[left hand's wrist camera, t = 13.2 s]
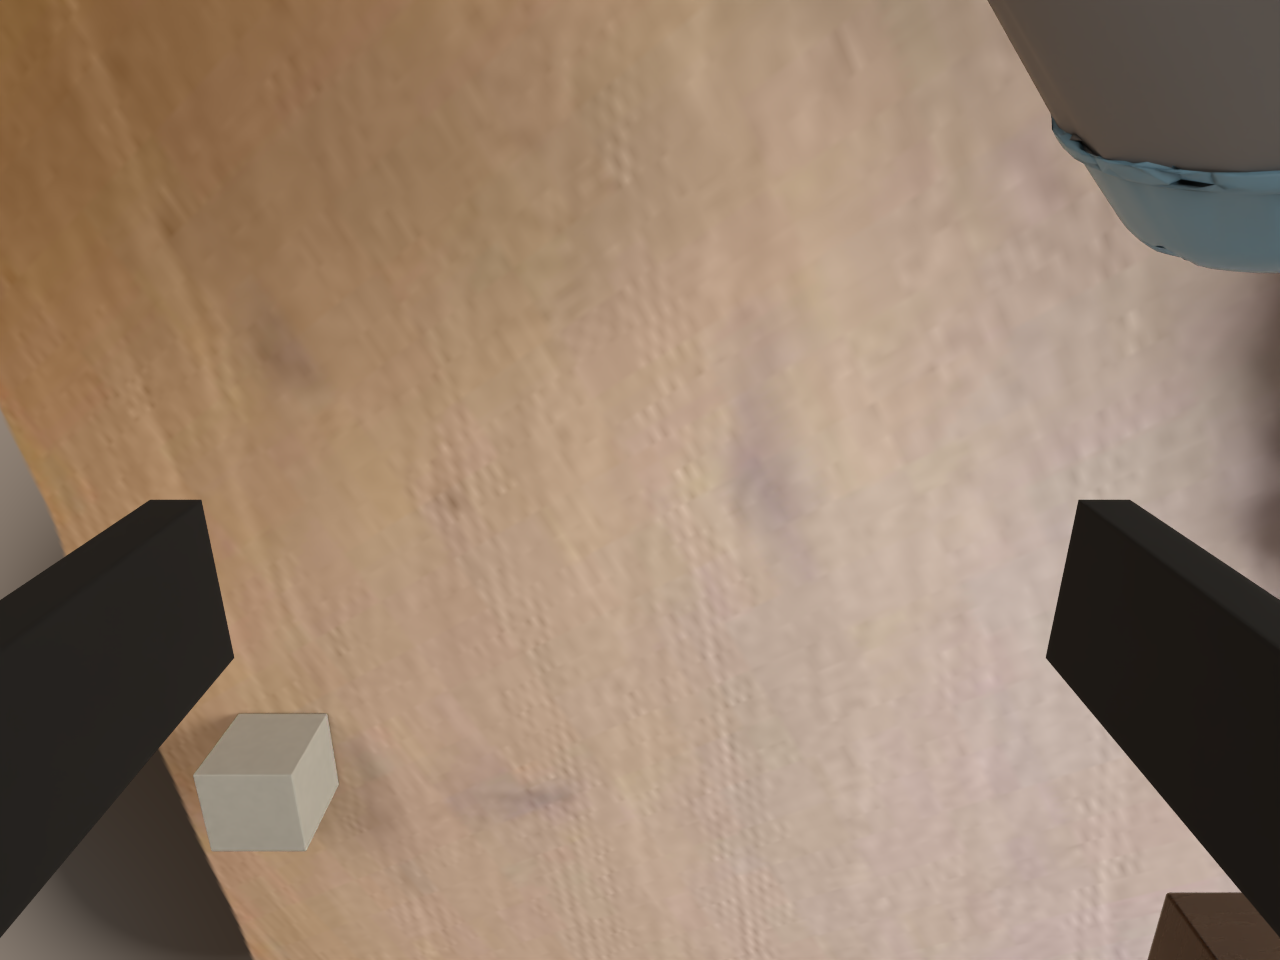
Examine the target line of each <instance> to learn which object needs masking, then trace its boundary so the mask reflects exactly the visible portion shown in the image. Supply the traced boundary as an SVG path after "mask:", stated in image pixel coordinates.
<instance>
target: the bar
mask: <svg viewBox="0 0 1280 960" xmlns="http://www.w3.org/2000/svg"><path fill="white" fill-rule="evenodd" d="M1148 960H1280V937H1279V936H1278V935H1277V934H1276V933H1275V931H1274V930H1273V929H1272V928H1271V927H1270V926H1269V924H1268V923H1267V922H1266V921H1265V920H1264V918H1263V917H1262V916H1261V915H1260V914H1259V912H1258V911H1257V910H1256V909H1255V908H1254V906H1253V905H1252V904H1251V903H1250V902H1249V900H1248V899H1247V898H1246V897H1245V896H1244V894H1243V893H1167V894H1166V897H1165V900H1164V904H1163V907H1162V911H1161V914H1160V918H1159V921H1158V925H1157V928H1156V932H1155V936H1154V939H1153V943H1152V946H1151V950H1150V953H1149V957H1148Z"/></svg>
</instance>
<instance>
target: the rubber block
mask: <svg viewBox="0 0 1280 960" xmlns="http://www.w3.org/2000/svg"><path fill="white" fill-rule="evenodd" d="M193 777H194V781H195V785H196V789H197V793H198V797H199V802H200V806H201V810H202V814H203V818H204V822H205V826H206V830H207V834H208V838H209V842H210V847H211V850H212V851H306V850H307V848H308V846H309V844H310V842H311V840H312V838H313V836H314V834H315V832H316V830H317V828H318V826H319V824H320V822H321V820H322V818H323V816H324V814H325V812H326V810H327V808H328V806H329V804H330V801H331V799H332V797H333V795H334V793H335V791H336V789H337V787H338V785H339V782H338V776H337V770H336V764H335V758H334V752H333V746H332V740H331V734H330V728H329V722H328V716H327V714H238V715H237V717H236V718H235V719H234V721H233V722H232V723H231V725H230V726H229V727H228V729H227V730H226V732H225V733H224V734H223V736H222V737H221V738H220V740H219V741H218V742H217V744H216V745H215V746H214V748H213V749H212V750H211V752H210V753H209V754H208V756H207V757H206V759H205V760H204V761H203V763H202V764H201V765H200V767H199V768H198V769H197V771H196V772H195V773H194V775H193Z"/></svg>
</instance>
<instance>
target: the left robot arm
mask: <svg viewBox="0 0 1280 960" xmlns="http://www.w3.org/2000/svg"><path fill="white" fill-rule="evenodd" d="M988 2H989V4H990V5H991V7H992V9H993V11H994V12H995V14H996V16H997V18H998V20H999V21H1000V23H1001V25H1002V27H1003V29H1004V30H1005V32H1006V34H1007V36H1008V38H1009V39H1010V41H1011V43H1012V45H1013V47H1014V48H1015V50H1016V52H1017V54H1018V56H1019V57H1020V59H1021V61H1022V63H1023V64H1024V66H1025V68H1026V70H1027V72H1028V73H1029V75H1030V77H1031V79H1032V81H1033V82H1034V84H1035V86H1036V88H1037V90H1038V91H1039V93H1040V95H1041V97H1042V99H1043V100H1044V102H1045V104H1046V106H1047V108H1048V109H1049V111H1050V113H1051V117H1052V130H1053V132H1054V134H1055V136H1056V138H1057V140H1058V141H1059V143H1060V144H1061V146H1062V147H1063V148H1064V149H1065V150H1066V151H1067V152H1068V153H1069V154H1070V155H1071V156H1072V157H1073V158H1075V159H1076V160H1078V161H1080V162H1082V163H1084V165H1085V166H1086V168H1087V169H1088V171H1089V172H1090V174H1091V175H1092V177H1093V178H1094V180H1095V182H1096V183H1097V185H1098V186H1099V188H1100V189H1101V191H1102V192H1103V194H1104V195H1105V197H1106V198H1107V200H1108V202H1109V203H1110V205H1111V206H1112V208H1113V209H1114V211H1115V212H1116V214H1117V215H1118V217H1119V218H1120V220H1121V221H1122V223H1123V224H1124V225H1125V226H1126V228H1127V229H1128V230H1129V231H1130V232H1131V233H1132V234H1133V235H1135V236H1136V237H1137V238H1138V239H1139V240H1140V241H1141V242H1143V243H1144V244H1146V245H1147V246H1149V247H1150V248H1152V249H1154V250H1156V251H1158V252H1162V253H1165V254H1169V255H1173V256H1177V257H1181V258H1183V259H1184V260H1189V261H1190V262H1192V263H1194V264H1196V265H1198V266H1202V267H1207V268H1211V269H1218V270H1226V271H1237V272H1252V273H1280V0H988ZM233 659H234V654H233V649H232V645H231V640H230V635H229V630H228V625H227V621H226V616H225V611H224V606H223V601H222V597H221V592H220V587H219V582H218V577H217V573H216V568H215V563H214V558H213V553H212V549H211V544H210V539H209V534H208V529H207V525H206V520H205V515H204V510H203V505H202V501H201V500H149V501H148V502H146V503H145V504H143V505H142V506H140V507H139V508H137V509H136V510H134V511H133V512H131V513H130V514H128V515H127V516H125V517H124V518H122V519H121V520H119V521H118V522H116V523H115V524H113V525H112V526H110V527H109V528H107V529H106V530H104V531H103V532H101V533H100V534H98V535H97V536H95V537H94V538H92V539H91V540H89V541H88V542H86V543H85V544H83V545H82V546H80V547H79V548H77V549H76V550H74V551H73V552H72V553H70V554H69V555H67V556H66V557H64V558H63V559H61V560H60V561H58V562H57V563H55V564H54V565H52V566H51V567H49V568H48V569H46V570H45V571H43V572H42V573H40V574H39V575H37V576H36V577H34V578H33V579H31V580H30V581H28V582H27V583H25V584H24V585H22V586H21V587H19V588H18V589H16V590H15V591H13V592H12V593H10V594H9V595H7V596H6V597H4V598H3V599H1V600H0V937H1V936H2V935H3V934H4V933H5V931H6V930H7V929H8V928H9V927H10V925H11V924H12V923H13V922H14V921H15V919H16V918H17V917H18V916H19V915H20V914H21V912H22V911H23V910H24V909H25V908H26V906H27V905H28V904H29V903H30V902H31V900H32V899H33V898H34V897H35V896H36V894H37V893H38V892H39V891H40V890H41V888H42V887H43V886H44V885H45V884H46V882H47V881H48V880H49V879H50V878H51V876H52V875H53V874H54V873H55V872H56V870H57V869H58V868H59V867H60V866H61V864H62V863H63V862H64V861H65V860H66V858H67V857H68V856H69V855H70V854H71V852H72V851H73V850H74V849H75V848H76V846H77V845H78V844H79V843H80V842H81V841H82V839H83V838H84V837H85V836H86V834H87V833H88V832H89V831H90V830H91V829H92V827H93V826H94V825H95V824H96V823H97V821H98V820H99V819H100V818H101V817H102V815H103V814H104V813H105V812H106V811H107V809H108V808H109V807H110V806H111V805H112V803H113V802H114V801H115V800H116V799H117V797H118V796H119V795H120V794H121V793H122V791H123V790H124V789H125V788H126V787H127V785H128V784H129V783H130V782H131V781H132V779H133V778H134V777H135V776H136V775H137V773H138V772H139V771H140V770H141V769H142V767H143V766H144V765H145V764H146V763H147V761H148V760H149V759H150V758H151V757H152V755H153V754H154V753H155V752H156V751H157V750H158V748H159V747H160V746H161V745H162V744H163V742H164V741H165V740H166V739H167V738H168V736H169V735H170V734H171V733H172V732H173V730H174V729H175V728H176V727H177V726H178V724H179V723H180V722H181V721H182V720H183V718H184V717H185V716H186V715H187V714H188V712H189V711H190V710H191V709H192V708H193V706H194V705H195V704H196V703H197V702H198V700H199V699H200V698H201V697H202V696H203V694H204V693H205V692H206V691H207V690H208V688H209V687H210V686H211V685H212V684H213V682H214V681H215V680H216V679H217V678H218V677H219V675H220V674H221V673H222V672H223V671H224V669H225V668H226V667H227V666H228V665H229V663H230V662H231V661H232V660H233ZM1046 659H1047V660H1048V661H1049V662H1050V663H1051V665H1052V666H1053V667H1054V668H1055V669H1056V671H1057V672H1058V673H1059V674H1060V675H1061V677H1062V678H1063V679H1064V680H1065V681H1066V682H1067V684H1068V685H1069V686H1070V687H1071V688H1072V690H1073V691H1074V692H1075V693H1076V694H1077V696H1078V697H1079V698H1080V699H1081V700H1082V702H1083V703H1084V704H1085V705H1086V706H1087V708H1088V709H1089V710H1090V711H1091V712H1092V714H1093V715H1094V716H1095V717H1096V718H1097V720H1098V721H1099V722H1100V723H1101V724H1102V726H1103V727H1104V728H1105V729H1106V730H1107V732H1108V733H1109V734H1110V735H1111V736H1112V738H1113V739H1114V740H1115V741H1116V742H1117V744H1118V745H1119V746H1120V747H1121V748H1122V750H1123V751H1124V752H1125V753H1126V754H1127V756H1128V757H1129V758H1130V759H1131V760H1132V761H1133V763H1134V764H1135V765H1136V766H1137V767H1138V769H1139V770H1140V771H1141V772H1142V773H1143V775H1144V776H1145V777H1146V778H1147V779H1148V781H1149V782H1150V783H1151V784H1152V785H1153V787H1154V788H1155V789H1156V790H1157V791H1158V793H1159V794H1160V795H1161V796H1162V797H1163V799H1164V800H1165V801H1166V802H1167V803H1168V805H1169V806H1170V807H1171V808H1172V809H1173V811H1174V812H1175V813H1176V814H1177V815H1178V817H1179V818H1180V819H1181V820H1182V821H1183V823H1184V824H1185V825H1186V826H1187V827H1188V829H1189V830H1190V831H1191V832H1192V833H1193V835H1194V836H1195V837H1196V838H1197V839H1198V841H1199V842H1200V843H1201V844H1202V845H1203V846H1204V848H1205V849H1206V850H1207V851H1208V852H1209V854H1210V855H1211V856H1212V857H1213V858H1214V860H1215V861H1216V862H1217V863H1218V864H1219V866H1220V867H1221V868H1222V869H1223V870H1224V872H1225V873H1226V874H1227V875H1228V876H1229V878H1230V879H1231V880H1232V881H1233V882H1234V884H1235V885H1236V886H1237V887H1238V888H1239V890H1240V891H1241V892H1242V893H1243V894H1244V896H1245V897H1246V898H1247V899H1248V900H1249V902H1250V903H1251V904H1252V905H1253V906H1254V908H1255V909H1256V910H1257V911H1258V912H1259V914H1260V915H1261V916H1262V917H1263V918H1264V920H1265V921H1266V922H1267V923H1268V924H1269V926H1270V927H1271V928H1272V929H1273V930H1274V931H1275V933H1276V934H1277V935H1278V936H1279V937H1280V600H1279V599H1277V598H1276V597H1274V596H1273V595H1271V594H1270V593H1268V592H1267V591H1265V590H1264V589H1262V588H1261V587H1259V586H1258V585H1256V584H1255V583H1253V582H1252V581H1250V580H1249V579H1247V578H1246V577H1244V576H1243V575H1241V574H1240V573H1238V572H1237V571H1235V570H1234V569H1232V568H1231V567H1229V566H1228V565H1226V564H1225V563H1223V562H1222V561H1220V560H1219V559H1217V558H1216V557H1214V556H1213V555H1211V554H1210V553H1208V552H1207V551H1206V550H1204V549H1203V548H1201V547H1200V546H1198V545H1197V544H1195V543H1194V542H1192V541H1191V540H1189V539H1188V538H1186V537H1185V536H1183V535H1182V534H1180V533H1179V532H1177V531H1176V530H1174V529H1173V528H1171V527H1170V526H1168V525H1167V524H1165V523H1164V522H1162V521H1161V520H1159V519H1158V518H1156V517H1155V516H1153V515H1152V514H1150V513H1149V512H1147V511H1146V510H1144V509H1143V508H1141V507H1140V506H1138V505H1137V504H1135V503H1134V502H1132V501H1131V500H1079V501H1078V505H1077V510H1076V515H1075V520H1074V525H1073V529H1072V534H1071V539H1070V544H1069V549H1068V553H1067V558H1066V563H1065V568H1064V573H1063V577H1062V582H1061V587H1060V592H1059V597H1058V601H1057V606H1056V611H1055V616H1054V621H1053V625H1052V630H1051V635H1050V640H1049V645H1048V649H1047V654H1046Z"/></svg>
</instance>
